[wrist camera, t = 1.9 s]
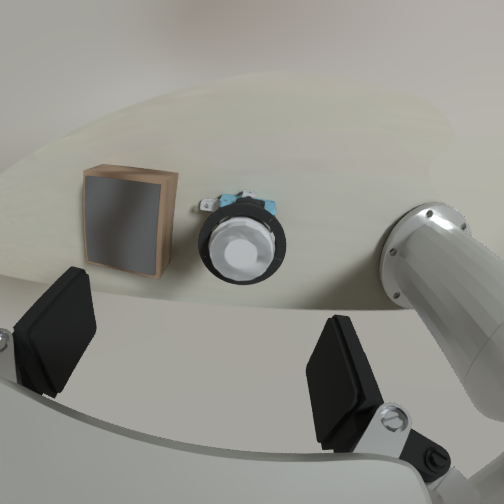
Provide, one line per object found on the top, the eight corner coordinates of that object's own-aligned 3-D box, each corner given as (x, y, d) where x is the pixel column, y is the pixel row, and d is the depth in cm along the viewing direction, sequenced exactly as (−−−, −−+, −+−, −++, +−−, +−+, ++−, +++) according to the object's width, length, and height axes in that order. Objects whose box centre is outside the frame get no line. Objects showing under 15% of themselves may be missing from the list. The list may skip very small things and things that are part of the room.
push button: (201, 227, 26) (171, 282, 17) (207, 171, 24) (175, 199, 15) (271, 237, 26) (277, 298, 17) (282, 182, 24) (296, 217, 15)
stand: (178, 173, 24) (165, 181, 21) (170, 261, 28) (158, 280, 24) (102, 164, 24) (81, 171, 20) (102, 247, 27) (84, 263, 24)
